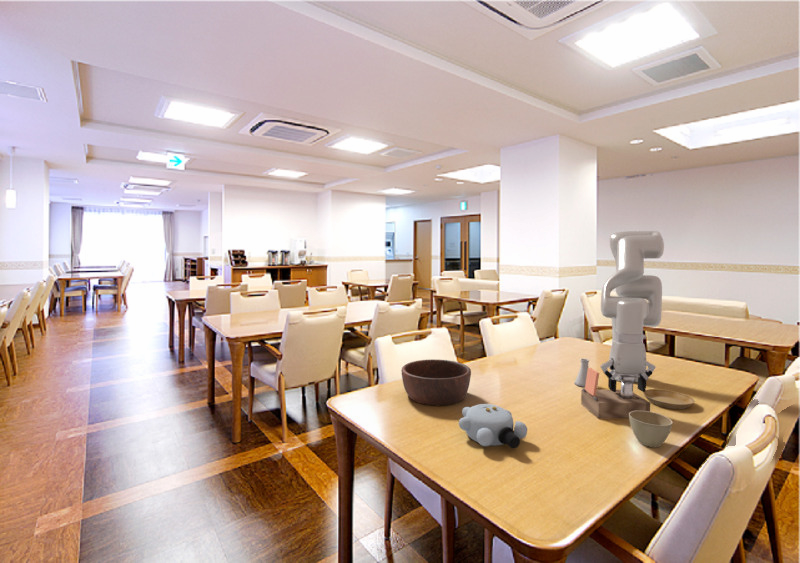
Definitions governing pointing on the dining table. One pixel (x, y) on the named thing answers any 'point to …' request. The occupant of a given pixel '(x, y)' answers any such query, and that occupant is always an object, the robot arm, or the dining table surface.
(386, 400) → the dining table surface
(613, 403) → the block
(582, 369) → the flask
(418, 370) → the wooden bowl
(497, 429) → the figurine
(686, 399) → the plant saucer
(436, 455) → the dining table surface
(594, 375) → the plate
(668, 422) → the beige bowl
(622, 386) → the pin
